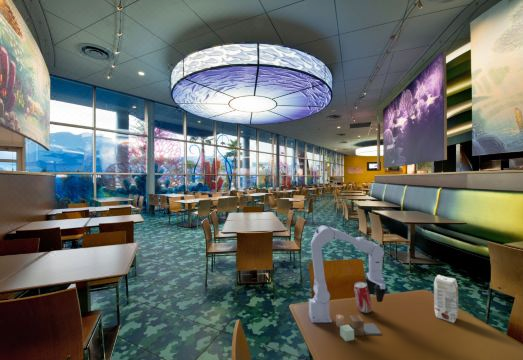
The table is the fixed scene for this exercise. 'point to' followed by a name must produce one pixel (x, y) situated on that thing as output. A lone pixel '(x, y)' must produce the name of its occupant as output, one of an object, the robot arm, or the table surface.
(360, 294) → the soda can
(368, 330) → the slate coaster
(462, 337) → the table surface
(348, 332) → the pale green cube
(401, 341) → the table surface
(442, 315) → the white food bag
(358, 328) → the walnut block
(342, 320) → the pinkish brown rounded cylinder
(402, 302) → the table surface
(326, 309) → the robot arm
